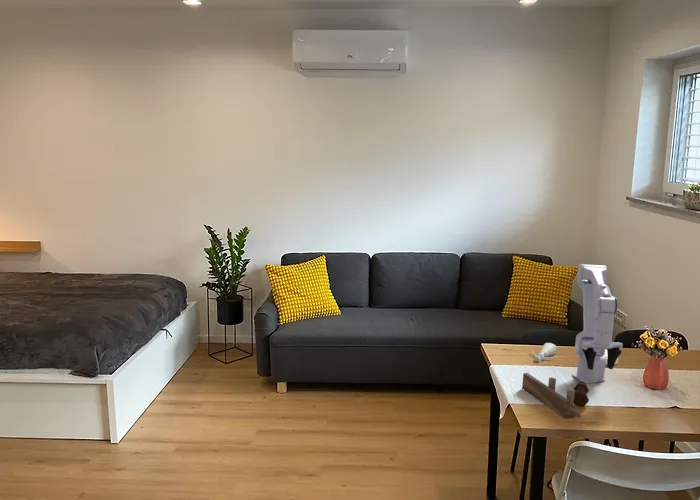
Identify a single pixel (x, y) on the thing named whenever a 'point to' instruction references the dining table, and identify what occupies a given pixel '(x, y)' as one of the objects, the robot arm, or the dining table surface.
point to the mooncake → (607, 357)
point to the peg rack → (551, 396)
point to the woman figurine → (545, 352)
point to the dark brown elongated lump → (581, 394)
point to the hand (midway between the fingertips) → (600, 368)
